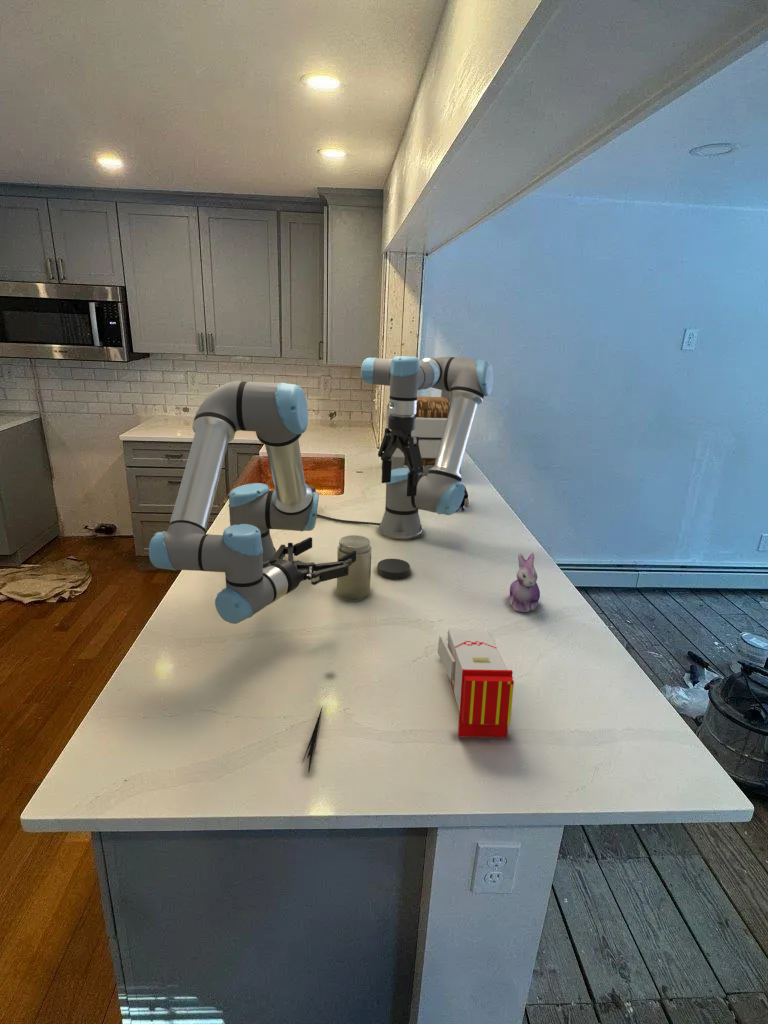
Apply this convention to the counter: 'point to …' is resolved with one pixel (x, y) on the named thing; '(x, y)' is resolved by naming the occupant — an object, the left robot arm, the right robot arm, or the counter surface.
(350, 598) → the jar
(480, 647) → the toy
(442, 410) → the transformer
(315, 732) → the feather
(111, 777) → the counter surface
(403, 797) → the counter surface
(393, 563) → the lid
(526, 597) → the figurine
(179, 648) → the counter surface
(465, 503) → the figurine character
